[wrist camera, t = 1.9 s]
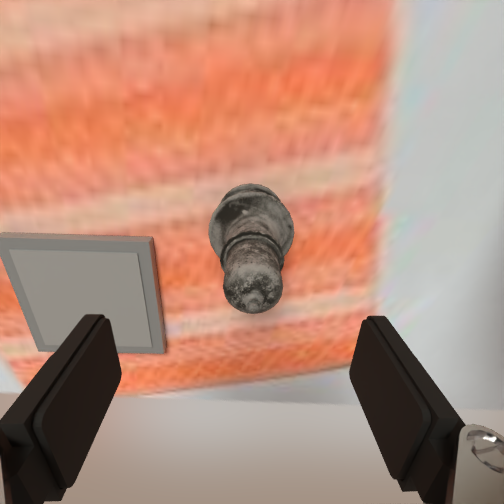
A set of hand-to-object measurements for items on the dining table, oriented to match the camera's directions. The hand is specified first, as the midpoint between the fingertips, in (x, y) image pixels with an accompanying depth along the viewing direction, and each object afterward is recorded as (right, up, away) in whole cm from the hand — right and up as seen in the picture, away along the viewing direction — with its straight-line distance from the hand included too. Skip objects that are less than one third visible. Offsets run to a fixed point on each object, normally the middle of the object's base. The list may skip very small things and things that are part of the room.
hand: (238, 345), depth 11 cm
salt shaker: (0, +6, +12) cm, 14 cm away
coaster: (-14, 0, +15) cm, 21 cm away
